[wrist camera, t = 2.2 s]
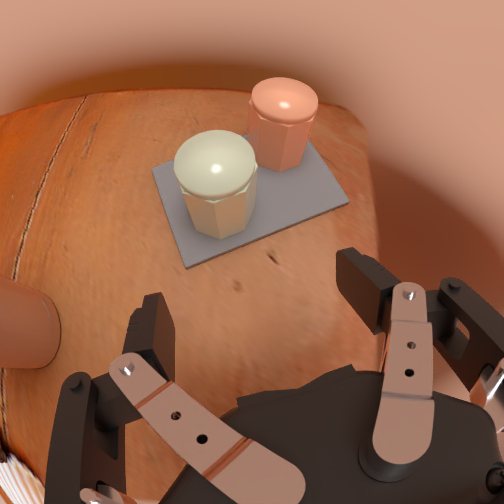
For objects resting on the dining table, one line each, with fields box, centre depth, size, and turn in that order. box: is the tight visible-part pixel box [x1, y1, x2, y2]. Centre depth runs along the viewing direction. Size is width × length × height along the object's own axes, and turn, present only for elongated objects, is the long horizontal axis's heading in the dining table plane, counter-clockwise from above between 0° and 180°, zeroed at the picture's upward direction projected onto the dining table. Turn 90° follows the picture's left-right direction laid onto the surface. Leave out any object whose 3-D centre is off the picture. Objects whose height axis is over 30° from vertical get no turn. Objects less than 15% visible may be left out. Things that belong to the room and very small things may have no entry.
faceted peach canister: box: [248, 78, 318, 172], centre depth 28 cm, size 6×6×8 cm
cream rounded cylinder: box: [173, 130, 258, 240], centre depth 25 cm, size 6×6×8 cm
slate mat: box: [152, 134, 350, 269], centre depth 31 cm, size 19×13×1 cm
